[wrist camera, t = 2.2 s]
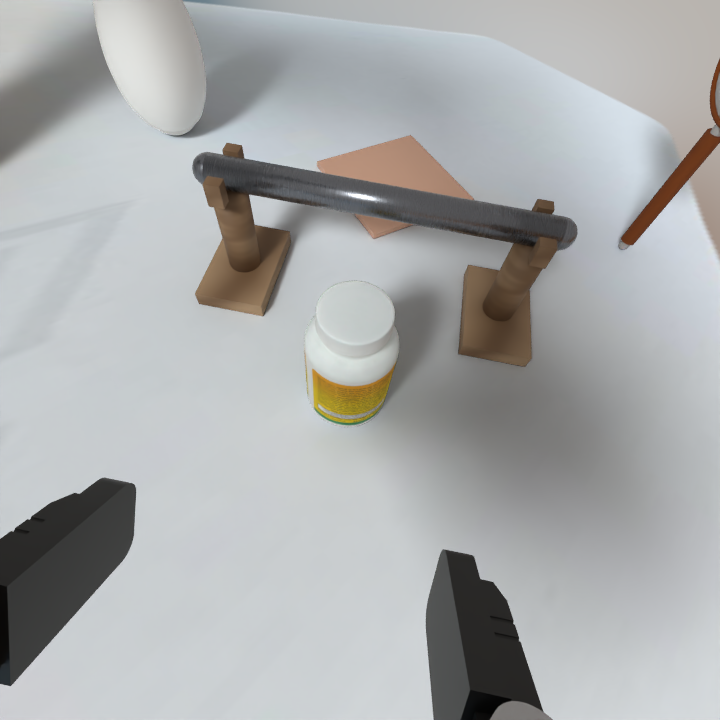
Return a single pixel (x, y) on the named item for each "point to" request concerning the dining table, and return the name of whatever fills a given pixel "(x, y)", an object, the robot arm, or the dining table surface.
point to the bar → (385, 201)
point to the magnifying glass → (679, 170)
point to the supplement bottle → (350, 353)
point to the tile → (394, 174)
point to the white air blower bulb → (154, 60)
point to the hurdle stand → (269, 248)
